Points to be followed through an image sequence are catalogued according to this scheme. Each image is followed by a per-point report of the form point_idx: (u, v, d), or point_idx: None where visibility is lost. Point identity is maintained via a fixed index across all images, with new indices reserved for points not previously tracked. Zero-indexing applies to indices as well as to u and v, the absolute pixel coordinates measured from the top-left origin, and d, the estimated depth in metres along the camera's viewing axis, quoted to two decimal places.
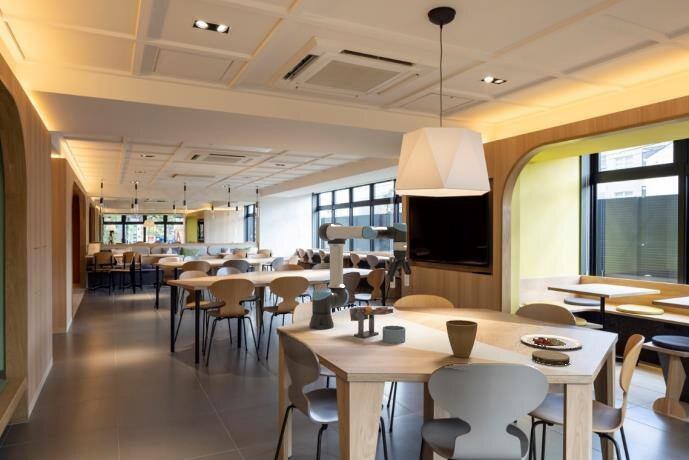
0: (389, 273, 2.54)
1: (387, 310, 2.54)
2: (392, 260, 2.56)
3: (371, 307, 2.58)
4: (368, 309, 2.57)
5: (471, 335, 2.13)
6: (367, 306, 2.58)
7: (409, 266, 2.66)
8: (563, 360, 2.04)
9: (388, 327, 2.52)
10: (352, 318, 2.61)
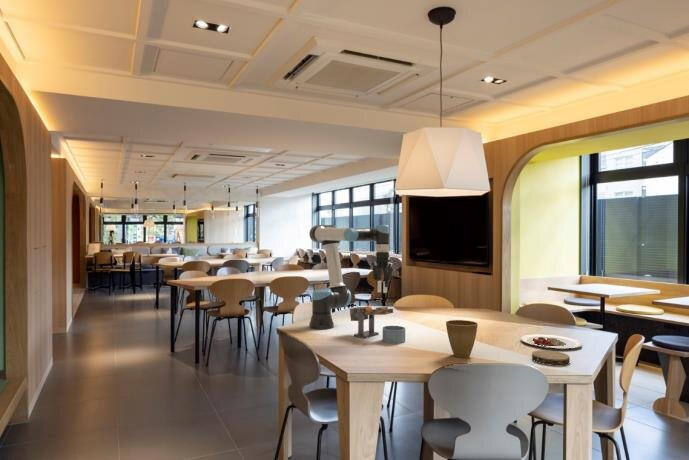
0: None
1: (387, 310, 2.54)
2: None
3: (371, 307, 2.58)
4: (368, 309, 2.57)
5: (471, 335, 2.13)
6: (367, 306, 2.58)
7: (388, 272, 2.57)
8: (563, 360, 2.04)
9: (388, 327, 2.52)
10: (352, 318, 2.61)
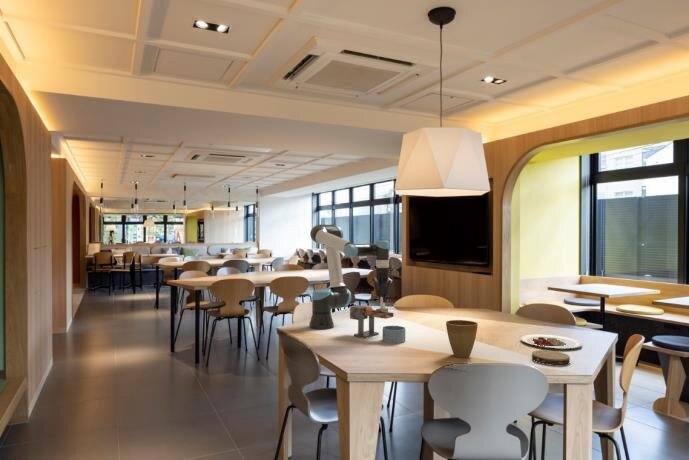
0: None
1: (387, 313, 2.54)
2: None
3: (372, 308, 2.58)
4: (369, 310, 2.56)
5: (471, 335, 2.13)
6: (368, 307, 2.57)
7: (387, 288, 2.58)
8: (563, 360, 2.04)
9: (388, 327, 2.52)
10: (351, 316, 2.62)
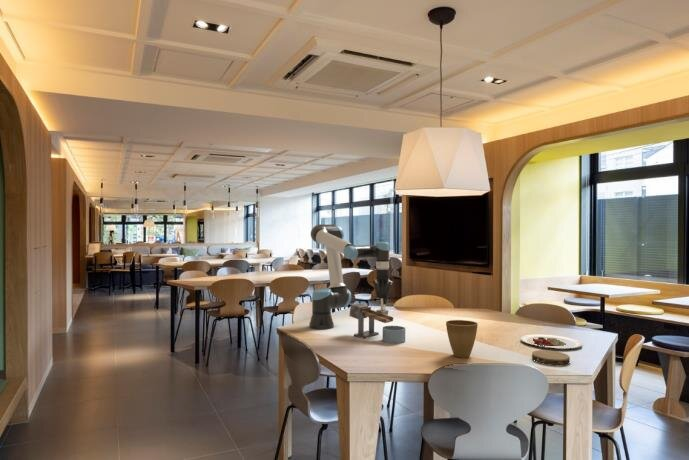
0: None
1: (387, 317, 2.54)
2: None
3: None
4: None
5: (471, 335, 2.13)
6: None
7: (387, 290, 2.57)
8: (563, 360, 2.04)
9: (388, 327, 2.52)
10: (351, 314, 2.62)
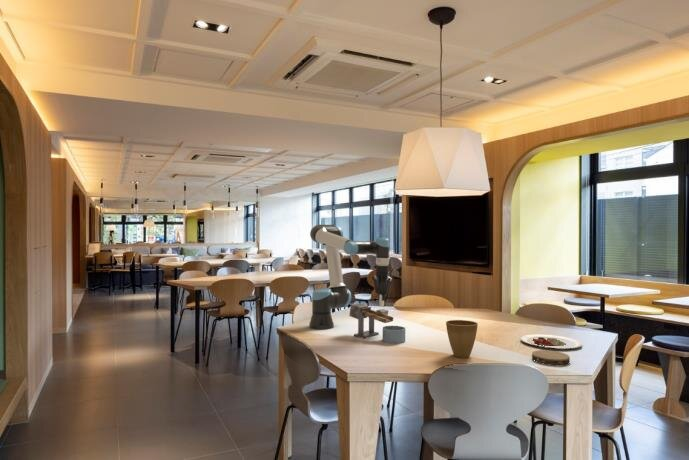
0: None
1: (387, 317, 2.54)
2: None
3: None
4: None
5: (471, 335, 2.13)
6: None
7: (386, 286, 2.58)
8: (563, 360, 2.04)
9: (388, 327, 2.52)
10: (351, 314, 2.62)
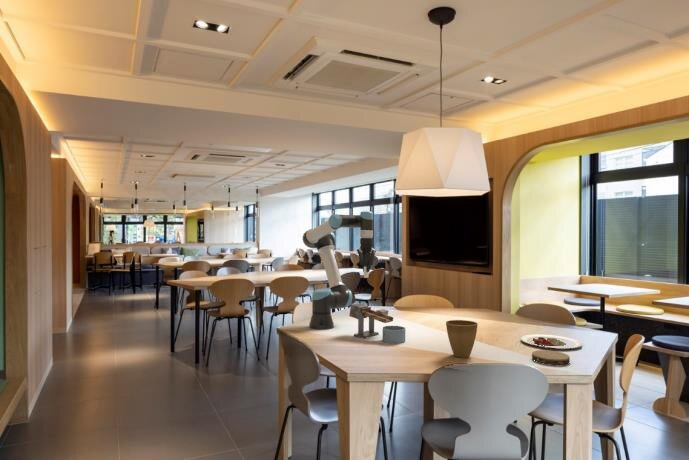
0: None
1: (387, 317, 2.54)
2: None
3: None
4: None
5: (471, 335, 2.13)
6: None
7: (370, 258, 2.64)
8: (563, 360, 2.04)
9: (388, 327, 2.52)
10: (351, 314, 2.62)
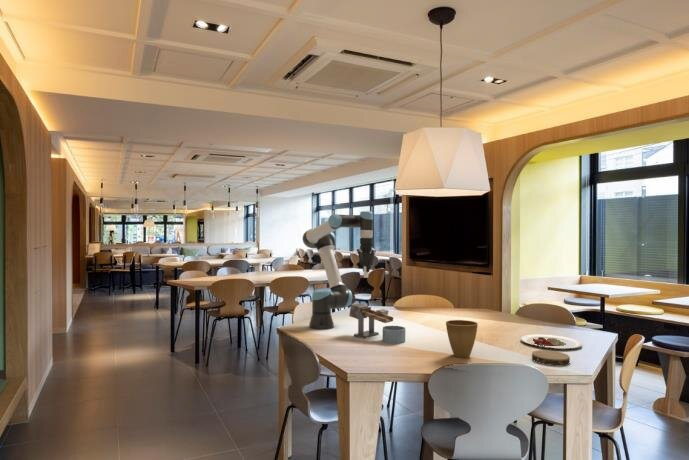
0: None
1: (387, 317, 2.54)
2: None
3: None
4: None
5: (471, 335, 2.13)
6: None
7: (370, 258, 2.64)
8: (563, 360, 2.04)
9: (388, 327, 2.52)
10: (351, 314, 2.62)
